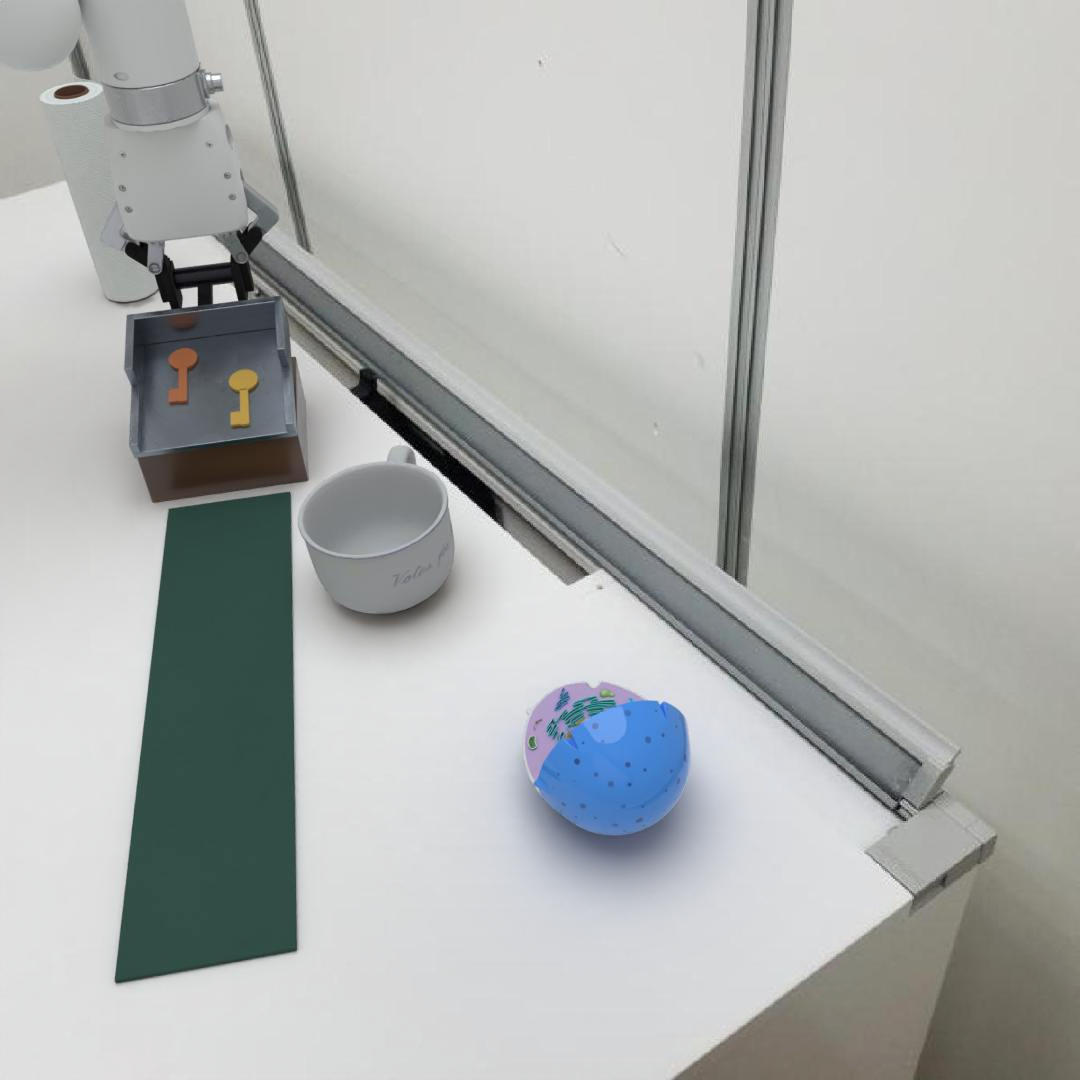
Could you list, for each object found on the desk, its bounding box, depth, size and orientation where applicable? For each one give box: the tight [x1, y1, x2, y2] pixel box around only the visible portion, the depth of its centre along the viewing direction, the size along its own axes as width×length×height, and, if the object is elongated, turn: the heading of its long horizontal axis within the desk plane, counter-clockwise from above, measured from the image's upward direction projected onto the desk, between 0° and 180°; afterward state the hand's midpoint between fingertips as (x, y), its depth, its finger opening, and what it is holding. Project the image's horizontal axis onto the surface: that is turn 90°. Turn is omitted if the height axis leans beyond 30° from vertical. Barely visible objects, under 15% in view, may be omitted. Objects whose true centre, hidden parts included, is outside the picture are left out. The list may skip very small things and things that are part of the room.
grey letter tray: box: [123, 261, 297, 459], centre depth 96 cm, size 18×13×4 cm
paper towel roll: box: [38, 74, 159, 303], centre depth 118 cm, size 7×6×21 cm
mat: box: [114, 491, 298, 984], centre depth 80 cm, size 42×10×1 cm, turn 10°
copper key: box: [169, 348, 198, 404], centre depth 97 cm, size 6×2×1 cm, turn 10°
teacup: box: [297, 444, 455, 615], centre depth 86 cm, size 14×11×8 cm
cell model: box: [521, 680, 692, 837], centre depth 69 cm, size 10×12×10 cm
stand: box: [136, 356, 309, 503], centre depth 100 cm, size 12×13×5 cm
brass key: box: [229, 369, 258, 427], centre depth 95 cm, size 6×2×1 cm, turn 10°
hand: (210, 301), depth 101 cm, fingers closed on grey letter tray, 5 cm apart
